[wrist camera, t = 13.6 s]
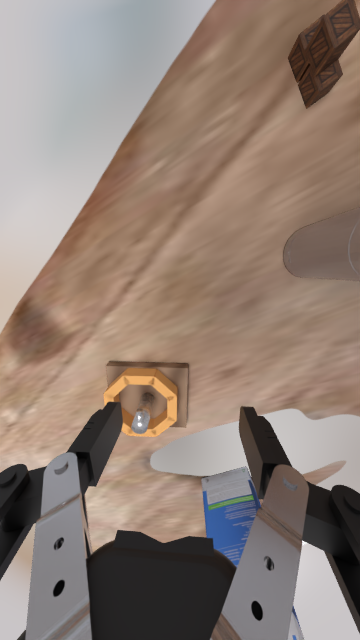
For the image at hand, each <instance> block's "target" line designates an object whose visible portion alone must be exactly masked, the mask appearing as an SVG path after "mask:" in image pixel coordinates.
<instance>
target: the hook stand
mask: <svg viewBox="0 0 360 640" xmlns="http://www.w3.org/2000/svg"><path fill="white" fill-rule="evenodd" d="M127 368H152V369H158V370H159V371H160V372H161V373H162V374H163V375H165V376H166V377H167V378H168V379H169V380H170V381H171V382H172V383H173V384H175V385H176V386H177V421H176V422H175V423H173V424H172V425H171V426H170V427H185V428H186V420H187V386H188V364H185V363H147V362H109V363H108V364H107V365H106V373H107V382H108V387H109V385H110V384H111V383H112V382H113V381H114V380H115V379H117V378H118V377H119V376H120V375H121V374H122V373H123V372H124V371H125V370H126V369H127ZM119 400H120V403H121V407H122V408H123V409H124V410H126V411H127V412H128V413H129V414H131V415H132V416H133V417H134V420H133V423H132V426H131V428H132V430H133V432H135V433H137V434H143V433H145V432H146V431H147V428H148V424H149V420H150V419H155V418H156V417H157V416H159V415H160V414H161V413H162V412H164V411H165V410H166V409H167V399H166V398H165V397H164V396H163V395H162V394H161V393H160V392H158V391H157V390H156V389H155V388H154V387H153V386H152V385H134V384H128V385H127V386H126V387H125V388H123V389H122V390H121V391H120V392H119Z"/></svg>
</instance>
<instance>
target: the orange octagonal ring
mask: <svg viewBox="0 0 360 640" xmlns="http://www.w3.org/2000/svg"><path fill="white" fill-rule="evenodd" d="M128 384H134V385H152V386H153V387H154V388H155V389H156V390H157V391H158V392H160V393H161V394H162V395H163V396H164V397H165V398H166V399H167V409H166V410H165V411H164V412H162V413H161V414H160V415H159V416H157V417H156V418H155V419H150V420H149V424H148V428H147V431H146V432H145V433H143V434H137V433H135V432H133V430H132V428H131V426H132V423H133V420H134V417H133V416H132V415H131V414H129V413H128V412H127V411H126V410H124V409H123V408H122V407H121V408H122V416H123V426H122V431H123V432H124V433H125V434H127V435H129V436H150V437H156V436H158V435H159V434H161V433H162V432H163V431H164V430H166V429H167V428H168V427H170V426H171V425H172V424H173V423H175V422H176V421H177V386H176V385H175V384H173V383H172V382H171V381H170V380H169V379H168V378H167V377H166V376H165V375H163V374H162V373H161V372H160V371H159V370H158V369H152V368H127V369H126V370H125V371H124V372H123V373H122V374H121V375H120V376H119V377H118V378H117V379H115V380H114V381H113V382H112V383H111V384H110V385H109V387H108V388H107V390H106V391H105V393H104V402H105V406H106V404H107V403H108V402H109V401H111V402H120V400H119V392H120V391H121V390H122V389H123V388H125V387H126V386H127V385H128Z"/></svg>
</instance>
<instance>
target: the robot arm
mask: <svg viewBox="0 0 360 640" xmlns="http://www.w3.org/2000/svg"><path fill="white" fill-rule="evenodd" d="M283 258H284V263H285V266H286V268H287V269H288V271H289V272H290V273H292V274H293V275H295V276H298V277H304V278H319V279H336V280H352V281H360V207H358V208H355V209H353V210H350V211H347V212H344V213H342V214H339V215H336V216H333V217H330V218H328V219H325V220H322V221H319V222H316V223H314V224H311V225H308V226H306V227H303V228H301V229H299V230H298V231H296V232H295V233H294V234H293V235H292V236H291V237H290V238H289V240H288V241H287V243H286V246H285V249H284V255H283ZM122 426H123V416H122V408H121V403H120V402H111V401H109V402H108V403H107V404H106V406H105V407H104V409H103V410H101V409H99V410H98V411H97V412H96V413H95V414H93V415H92V416H91V418H90V419H89V421H88V422H87V424H86V425H85V426H84V428H83V430H82V431H81V432H80V434H79V435H78V436H77V438H76V439H75V441H74V442H73V444H72V445H71V446H70V448H69V449H68V451H67V452H66V453H64V454H61V455H59V456H57V457H56V458H55V459H53V460H52V461H51V462H50V463H49V464H48V466H46V467H42V468H38V469H35V470H31V471H28V469H27V467H26V465H24V464H17V465H14V466H11V467H9V468H7V469H5V470H4V471H2V472H1V473H0V580H1V578H2V577H3V575H4V573H5V572H6V570H7V568H8V566H9V565H10V563H11V561H12V560H13V558H14V556H15V555H16V553H17V551H18V550H19V548H20V546H21V544H22V543H23V541H24V539H25V538H26V536H27V534H28V533H29V531H30V529H31V527H32V526H33V524H34V523H36V529H35V539H34V550H33V560H32V572H31V582H30V593H29V604H28V605H29V606H28V616H27V626H26V630H25V631H24V632H23V633H22V634H21V636H20V637H19V638H18V639H17V640H288V635H289V628H290V622H291V615H292V608H293V601H294V594H295V588H296V581H297V575H298V568H299V561H300V555H301V547H302V540H303V541H305V542H307V543H309V544H311V545H313V546H315V547H318V548H319V549H321V550H323V551H324V552H325V554H326V556H327V559H328V561H329V563H330V566H331V568H332V570H333V573H334V575H335V576H336V579H337V582H338V584H339V587H340V589H341V591H342V594H343V596H344V598H345V600H346V603H347V605H348V607H349V610H350V612H351V614H352V617H353V619H354V621H355V624H356V626H357V628H358V631H359V633H360V494H359V493H358V492H356V491H355V490H353V489H351V488H349V487H347V486H344V485H335V486H334V487H333V488H332V490H331V491H330V490H327V489H324V488H322V487H319V486H316V485H314V484H311V483H309V482H308V481H306V480H305V478H304V477H303V476H302V475H301V474H300V473H299V472H298V471H297V470H296V469H294V468H293V467H292V465H291V464H290V461H289V460H288V458H287V456H286V454H285V452H284V450H283V448H282V446H281V444H280V442H279V440H278V439H277V436H276V434H275V433H274V430H273V428H272V426H271V424H270V423H269V422H268V421H267V420H266V419H265V418H264V417H263V416H257V413H256V411H255V409H254V407H243V406H241V408H240V419H239V433H240V438H241V441H242V445H243V448H244V452H245V455H246V459H247V462H248V466H249V469H250V472H251V476H252V479H253V483H254V486H255V490H256V493H257V497H258V499H263V502H262V505H261V507H259V509H258V511H257V513H256V516H255V519H254V522H253V524H252V527H251V530H250V533H249V536H248V539H247V541H246V544H245V547H244V550H243V553H242V555H241V558H240V561H239V564H238V567H236V566H235V565H234V564H233V563H232V561H231V560H230V559H228V558H227V557H226V556H225V555H224V554H222V553H221V552H219V551H218V550H216V549H214V545H213V538H204V537H192V536H188V537H184V538H181V539H178V540H174V541H171V542H167V543H161V542H159V541H157V540H155V539H153V538H151V537H149V536H147V535H145V534H143V533H141V532H135V531H123V530H118V531H117V534H116V537H115V540H114V541H111V542H109V543H107V544H105V545H103V546H102V547H100V548H99V549H97V550H96V551H95V552H92V546H91V540H90V533H89V524H88V516H87V508H86V499H85V492H86V490H87V488H88V486H96V485H97V483H98V481H99V479H100V476H101V474H102V472H103V470H104V468H105V465H106V463H107V461H108V459H109V456H110V454H111V452H112V450H113V448H114V445H115V443H116V441H117V439H118V437H119V434H120V432H121V430H122Z"/></svg>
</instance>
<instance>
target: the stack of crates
mask: <svg viewBox="0 0 360 640" xmlns="http://www.w3.org/2000/svg"><path fill="white" fill-rule="evenodd" d="M359 30H360V17H359V14H358V11H357V8H356V4H355V1H354V0H342V1H341V2H340V3H339V4H337V5H336V6H335V7H334V8H333V9H332V10H330V11H329V12H328V13H327V14H326V15H323V16H321V17H320V18H319V19H318V20H316V21H315V22H314V23H313V24H311V25H310V26H309V27H308V28H306V29H305V30H304V31H303V32H301V33H300V34H299V36H298V38H297V40H296V42H295V44H294V46H293V48H292V50H291V52H290V55H289V57H288V60H289V62H290V65H291V68H292V71H293V74H294V76H295V79H296V82H299V81H300V80H301V81H300V82H299V84H298V87H299V90H300V92H301V95H302V98H303V101H304V104H305V106H306V109H307V108H308V107H309V106H311V105H312V104H314V103H315V102H316V101H318V100H319V99H320V98H322V97H323V96H325V95H326V94H327V93H328V92H329V91H330V90H331V88H332V87H333V86H334V85H335V83H336V82H337V81H338V80H339V78H340V77H341V76H342V75H343V73H342V70H341V66H340V63H339V60H338V59H339V57H340V56H341V54H342V53H343V52H344V50H345V49H346V48H347V46H348V45H349V43H350V42H351V41H352V39H353V38H354V37H355V35H356V34H357V32H358V31H359Z"/></svg>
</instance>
